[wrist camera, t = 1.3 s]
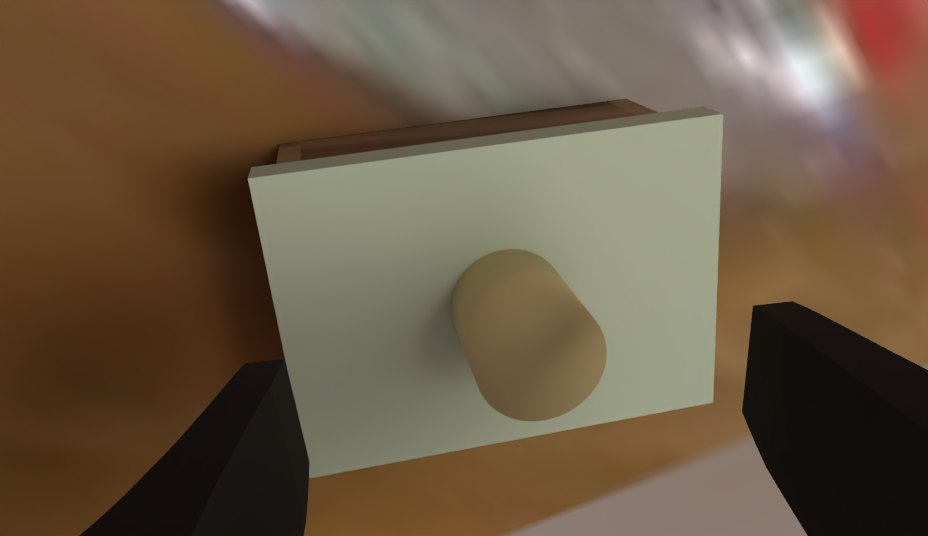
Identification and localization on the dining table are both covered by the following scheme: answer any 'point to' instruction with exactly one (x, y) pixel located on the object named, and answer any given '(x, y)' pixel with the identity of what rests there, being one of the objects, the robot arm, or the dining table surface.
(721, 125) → the lid
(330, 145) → the box
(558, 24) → the dining table surface
